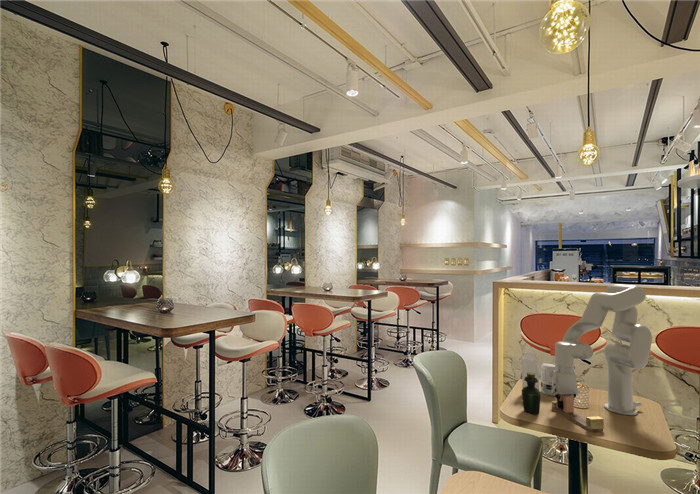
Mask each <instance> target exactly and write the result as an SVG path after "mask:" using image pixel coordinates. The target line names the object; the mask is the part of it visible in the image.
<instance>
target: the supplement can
mask: <svg viewBox="0 0 700 494" xmlns="http://www.w3.org/2000/svg"><path fill="white" fill-rule="evenodd" d="M554 371H555V363H554V364H553V363H549V362H543V363H541V365H540V392H541V393H543V394H544V395H546V396H553V395H552V394H551V391H552V376H553V372H554ZM556 393H557V392H556Z"/></svg>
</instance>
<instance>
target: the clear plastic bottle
mask: <svg viewBox="0 0 700 494" xmlns="http://www.w3.org/2000/svg"><path fill="white" fill-rule="evenodd" d="M521 362H522V363H521V364H522V366H521V369H522V370H521V372H522V375H521V377H522V379H521V380H522V385H521V386H522V389H523V388H524V387H526V386H528V385H527V381H525V380H524V379H525V377H527V372H532V373H535V378H537V380H538V382H537V383H535V388H537V389H538V390H539V391H540V378H539V377H540V374H539V373H540V372H539V367H540V366H539V365H540V364H539V358H538V357H537V354H536V353H535V352H530V351H524V355H523V356H522V358H521Z"/></svg>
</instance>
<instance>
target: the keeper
mask: <svg viewBox="0 0 700 494" xmlns="http://www.w3.org/2000/svg"><path fill="white" fill-rule="evenodd" d="M559 397H560V395H559ZM562 401H563V405H564V409H563V410H562V411H564V412H566V413H570V412H575V405H574V403H575V398H574V397H573V396H571V395H569V394H564V395H563V399H562ZM557 408H558V406H557ZM559 409H560V408H559Z"/></svg>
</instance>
